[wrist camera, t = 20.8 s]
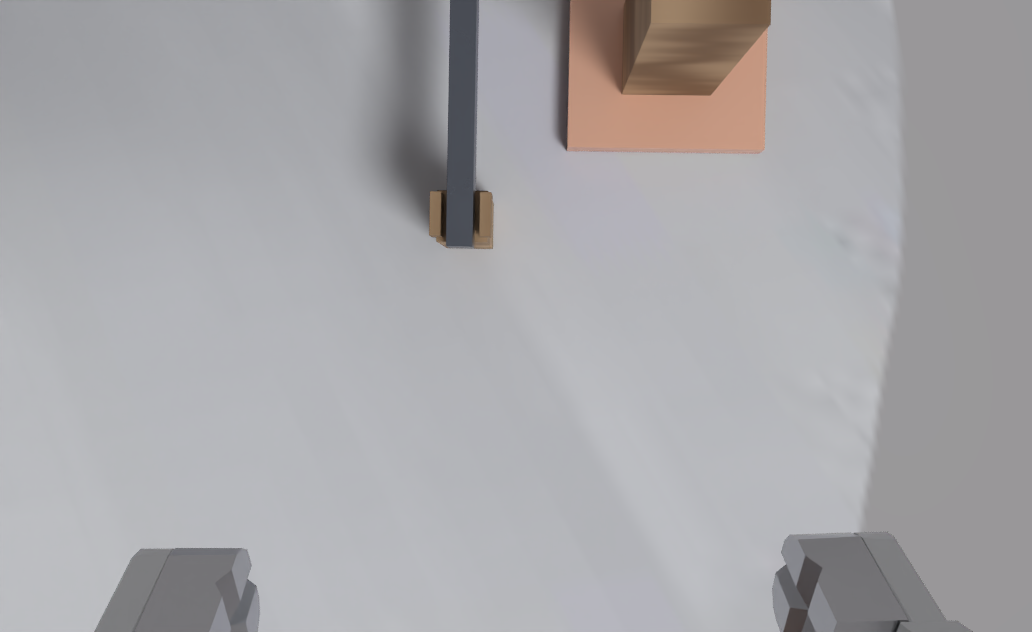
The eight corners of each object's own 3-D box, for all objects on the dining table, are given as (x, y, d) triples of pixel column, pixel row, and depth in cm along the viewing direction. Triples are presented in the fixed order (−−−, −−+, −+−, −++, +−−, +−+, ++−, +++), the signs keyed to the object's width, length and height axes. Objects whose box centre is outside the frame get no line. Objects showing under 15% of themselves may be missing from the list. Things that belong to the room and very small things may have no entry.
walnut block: (621, 94, 39) (651, 22, 29) (623, 5, 39) (653, -97, 29) (710, 95, 39) (770, 24, 29) (712, 6, 39) (773, -96, 29)
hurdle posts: (443, 248, 40) (429, 239, 35) (450, -142, 40) (437, -212, 35) (496, 248, 40) (490, 240, 35) (503, -142, 40) (498, -212, 35)
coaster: (566, 150, 40) (567, 147, 39) (570, -42, 40) (571, -50, 39) (758, 153, 40) (764, 149, 39) (763, -40, 40) (769, -49, 39)
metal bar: (448, 247, 36) (445, 245, 35) (456, -204, 36) (454, -221, 34) (474, 248, 36) (472, 246, 35) (482, -204, 36) (480, -221, 34)
